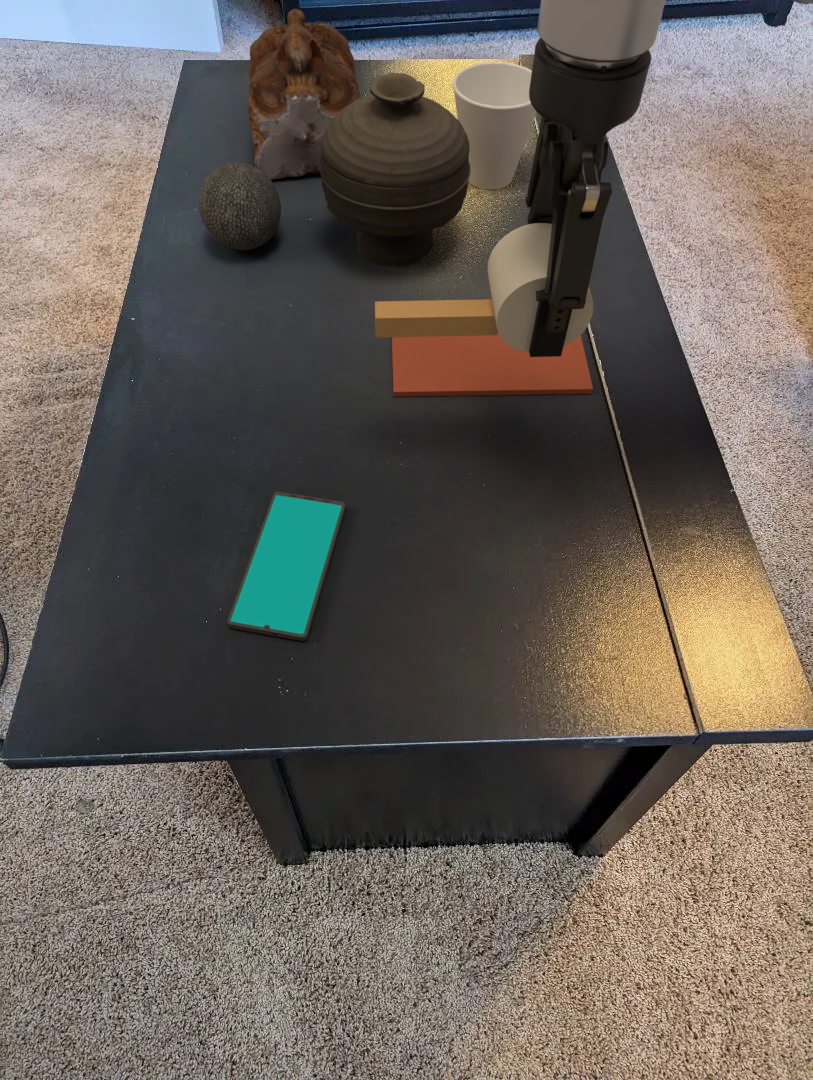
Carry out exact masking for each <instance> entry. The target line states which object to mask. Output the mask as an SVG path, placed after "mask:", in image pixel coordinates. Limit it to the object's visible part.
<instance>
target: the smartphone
mask: <svg viewBox="0 0 813 1080" xmlns="http://www.w3.org/2000/svg"><path fill="white" fill-rule="evenodd" d="M346 508H347V507H346V503H345V502H344V501H340V500H333V499H328V498H323V497H322V498H321V497H315V496H309V495H302V494H296V493H290V492H285V491H278V490H277V491H274V492H273V494H272V497H271V500H270V502H269V504H268V508H267V510H266V513H265V515H264V519H263V522H262V524H261V526H260V530H259V533H258V535H257V538H256V540H255V543H254V546H253V549H252V551H251V554H250V557H249V558H248V562H247V565H246V569H245V571H244V573H243V575H242V578H241V581H240V583H239V587H238V589H237V592H236V595H235V598H234V601H233V603H232V606H231V609H230V612H229V615H228V618H227V624H228V627H229V628H230V629H234V630H239V631H245V632H250V633H256V634H262V635H267V636H273V637H277V638H282V639H283V638H284V639H288V640H294V641H299V642H300V641H301V642H306V641H307V640H308V639H309V636H310V633H311V629H312V625H313V623H314V618H315V615H316V612H317V609H318V605H319V603H320V598H321V595H322V592H323V588H324V584H325V582H326V577H327V575H328V571H329V567H330V564H331V561H332V557H333V554H334V551H335V548H336V544H337V541H338V537H339V534H340V531H341V527H342V523H343V520H344V517H345V513H346V511H347V510H346Z"/></svg>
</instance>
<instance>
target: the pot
mask: <svg viewBox="0 0 813 1080" xmlns="http://www.w3.org/2000/svg"><path fill="white" fill-rule="evenodd" d="M425 88H426V87H425V83H423V82H421V81H419V80H417V79H416V78H415V77H414V76H412V75H410V74H407V73H402V72H401V73H400V72H391V73H387V74H383V75H378V76H376V77H374V78H373V79H372V80H371V81H370V84H369V92H370V95H366V96H363V97H361V98H360V99H358V100H356V101H354V102H353V103H351V104H350V105H348V106H347V107H345V108H344V109H343V110H341V111H340V112H339V113H338V114H337V115H336V116H335V117H334V118H333V119H332V120H331V122H330V124H329V125H328V126H327V128H326V129H325V131H324V134H323V137H322V141H321V159H320V162H321V164H320V165H321V167H320V168H321V170H320V173H319V174H320V177H321V187H322V191H323V194H324V198H325V201H326V207H327V210H328V211H327V212H328V213H330V214H331V215H333V216H334V217H335V218H337V219H338V220H339V221H340V222H342V223H343V224H346V225H347V226H350V227H351V228H354V230H357V234H356V238H355V245H356V249H357V250H358V252H359V254H360V255H361V256H363V257H364V258H365V259H367V260H369V261H371V262H373V263H375V264H378V265H380V266H385V267H405V266H409V265H414V264H416V263H418V262H420V261H421V260H424V259H425V258H427V256H429V255H430V254H431V253H432V250H433V249H434V246H435V240H434V233H433V231H434V230H437V229H440V228H443V227H445V226H446V225H447V224H448V223H450V222H451V221H453V219H454V218H455V217H456V216H457V215H458V214H459V213H460V211H461V210H462V209H463V206H464V202H465V198H466V196H467V193H468V187H469V182H468V180H469V177H470V170H471V169H470V164H469V151H470V146H469V140H468V137H467V134H466V132H465V131H464V128H463V126H462V125H461V123H460V122H459V121H458V118H457V117H456V116H455V115H454V114H453V113H452V112H451V111H450V110H448V109H447V108H446V107H444V106H443V105H441V103H439V102H437V101H436V100H433V99H431V98H428V97H426V96H424V94H425Z"/></svg>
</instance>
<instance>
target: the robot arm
mask: <svg viewBox="0 0 813 1080" xmlns="http://www.w3.org/2000/svg"><path fill="white" fill-rule="evenodd" d="M792 1H793V2H795V3H797V4H799V5H800V4H801V5H809V4H812V5H813V0H792ZM665 4H666V0H540V5H539V12H538V21H537V29H536V30H537V34H538V36H539V39H538V40H537V41H536V43H535V46H534V53H533V61H532V67H531V70H532V74H531V81H530V88H529V98H530V102H531V104H532V106H533V108H534V109H535V110H536V111H537V112H536V113H537V114H538V115H539V116H541V118H540V122H539V123H540V125H539V130H538V134H537V141H536V145H535V149H534V150H535V151H534V156H533V161H532V167H531V171H530V177H529V183H528V186H527V187H528V188H527V193H526V196H525V204H526V208H530V209H529V212H528V215H527V219H526V220H527V225H528V224H533V223H548V224H552V229H551V239H550V248H549V258H548V268H547V278H546V288H545V290H541V291H536V301H539V303H538V308H537V313H536V318H535V323H534V328H533V333H532V339H531V344H530V349H529V354H530V357H555V356H561V355H562V351H563V346H564V342H565V338H566V334H567V330H568V326H569V322H570V317H571V313H572V309H583V308H584V305H585V303H586V296H587V291H588V287H589V288H590V281H591V276H592V272H593V267H594V263H595V257H596V253H597V248H598V243H599V240H600V239H599V238H600V235H601V229H602V225H603V219H604V216H605V213H606V210H607V208H608V206H609V202H610V200H611V196H612V194H613V188H612V184H611V183H612V182H610V181H601V180H602V172H603V170H604V169H605V168H606V165H607V161H608V155H609V154H608V153H609V143H608V140H606V138H605V137H606V135H607V134H609V132H610V131H612V130H613V129H615V128H616V127H618V126H620V125H623V124H625V123H626V122H628V121H629V120H630V119H631V118H633V117H634V116H635V115H636V113H637V111H638V109H639V107H640V105H641V101H642V97H643V93H644V90H645V87H646V86H645V85H646V82H647V78H648V74H649V70H650V66H651V62H652V54H651V51H650V49H651V48H652V47H653V46H654V44H655V43H656V40H657V36H658V32H659V29H660V24H661V21H662V17H663V12H664V8H665Z"/></svg>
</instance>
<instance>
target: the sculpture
mask: <svg viewBox="0 0 813 1080" xmlns="http://www.w3.org/2000/svg"><path fill="white" fill-rule="evenodd" d="M286 18H287V24H280V25H276V26H272V27H269V28H266V29H265V30H264V31H263V32H262V33H261V34H260V36H259V37H258V38H257V39H256V40H254V41H253V42H252V43H251V45H250V46H249V63H248V66H247V70H248V79H249V88H248V89H249V91H248V97H247V103H248V106H247V107H248V108H247V109H248V110H247V114H248V116H249V125H250V129H251V143H252V151H253V158H254V159H253V163H254V167H256V168H258V169H259V170H261V171H262V172H263V173H265V174H266V175H267V176H268V177H269V178H270V180H271V181H272V180H280V179H285V178H297V177H303V176H305V175H318V174H321V173H320V170H321V168H320V167H321V165H320V164H321V162H320V159H321V141H322V137H323V134H324V131H325V129H326V128H327V126H328V125H329V124H330V122H331V120H332V119H333V118H334V117H335V116H336V115H337V114H338V113H339V112H340V111H341V110H343V109H344V108H345V107H347V106H348V105H350V104H351V103H353V102H354V101H356V100H358V99H360V98H362V97H361V93H360V87H359V84H358V77H357V68H356V60H355V58H354V54H353V53H352V51H351V49H350V44H349V41H348V39H347V37H346V36H344V35H343V34H342V33H341V32H340V31H339V30H338V29H337V28H335V27H334V26H332V25H330V24H329V23H318V22H317V21H313V22H306V14H305V13H304V11H302V10H301V9H298V8H293V9H291V10H290V11H289V12H288V14H287V17H286Z"/></svg>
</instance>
